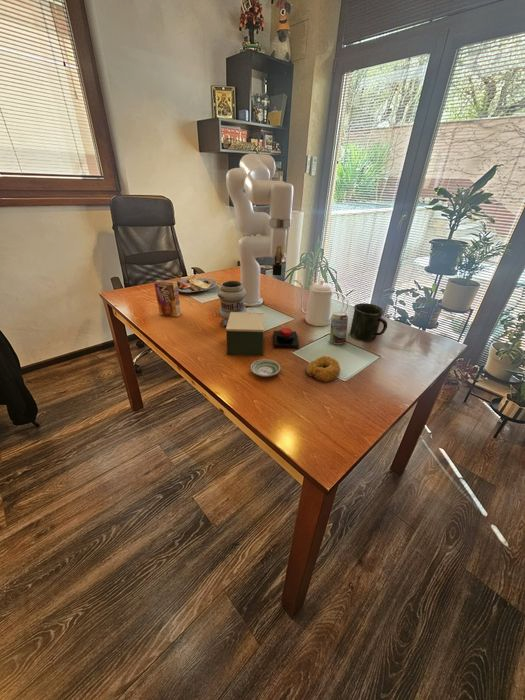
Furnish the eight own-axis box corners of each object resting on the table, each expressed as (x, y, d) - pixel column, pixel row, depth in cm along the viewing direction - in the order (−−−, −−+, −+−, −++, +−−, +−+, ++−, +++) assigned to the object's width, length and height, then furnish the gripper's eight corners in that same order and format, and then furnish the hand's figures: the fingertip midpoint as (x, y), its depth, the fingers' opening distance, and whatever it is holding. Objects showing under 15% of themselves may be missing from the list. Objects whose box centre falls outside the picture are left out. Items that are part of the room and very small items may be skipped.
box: (262, 355, 104) (263, 331, 99) (227, 354, 104) (226, 330, 99) (263, 337, 115) (263, 314, 110) (231, 336, 115) (230, 314, 110)
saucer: (282, 366, 98) (282, 360, 96) (277, 384, 90) (277, 377, 88) (254, 362, 99) (254, 356, 98) (247, 379, 91) (247, 372, 90)
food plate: (164, 286, 165) (163, 280, 163) (200, 278, 179) (199, 273, 177) (187, 298, 150) (186, 292, 148) (224, 289, 163) (223, 283, 162)
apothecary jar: (213, 326, 123) (210, 285, 113) (228, 316, 132) (226, 277, 123) (238, 332, 118) (237, 290, 109) (251, 321, 128) (252, 281, 118)
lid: (263, 332, 98) (263, 329, 97) (225, 331, 98) (225, 328, 97) (263, 314, 110) (263, 312, 110) (230, 313, 110) (230, 311, 110)
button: (291, 337, 110) (291, 332, 109) (281, 336, 110) (281, 332, 109) (290, 332, 113) (291, 328, 112) (280, 331, 113) (280, 327, 112)
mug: (360, 327, 125) (365, 301, 119) (389, 341, 115) (397, 313, 109) (343, 333, 120) (348, 306, 113) (372, 348, 109) (380, 320, 103)
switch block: (298, 348, 108) (299, 340, 106) (274, 348, 108) (274, 340, 106) (295, 335, 118) (296, 327, 116) (273, 334, 118) (274, 326, 116)
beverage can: (336, 348, 109) (341, 319, 103) (324, 339, 115) (328, 311, 109) (349, 344, 112) (354, 315, 106) (336, 336, 118) (341, 308, 111)
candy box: (181, 313, 134) (177, 281, 126) (177, 317, 130) (172, 284, 122) (163, 311, 135) (158, 279, 127) (159, 315, 131) (153, 282, 124)
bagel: (304, 364, 100) (306, 352, 97) (337, 366, 99) (339, 354, 96) (305, 381, 91) (307, 368, 89) (341, 384, 90) (343, 371, 88)
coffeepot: (294, 311, 138) (297, 272, 129) (346, 323, 129) (354, 281, 119) (285, 319, 130) (288, 278, 120) (340, 332, 120) (348, 289, 111)
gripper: (269, 219, 108) (267, 268, 118) (269, 226, 95) (266, 281, 105) (289, 220, 108) (285, 269, 118) (292, 227, 95) (287, 281, 105)
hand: (276, 274), depth 111 cm, fingers closed
